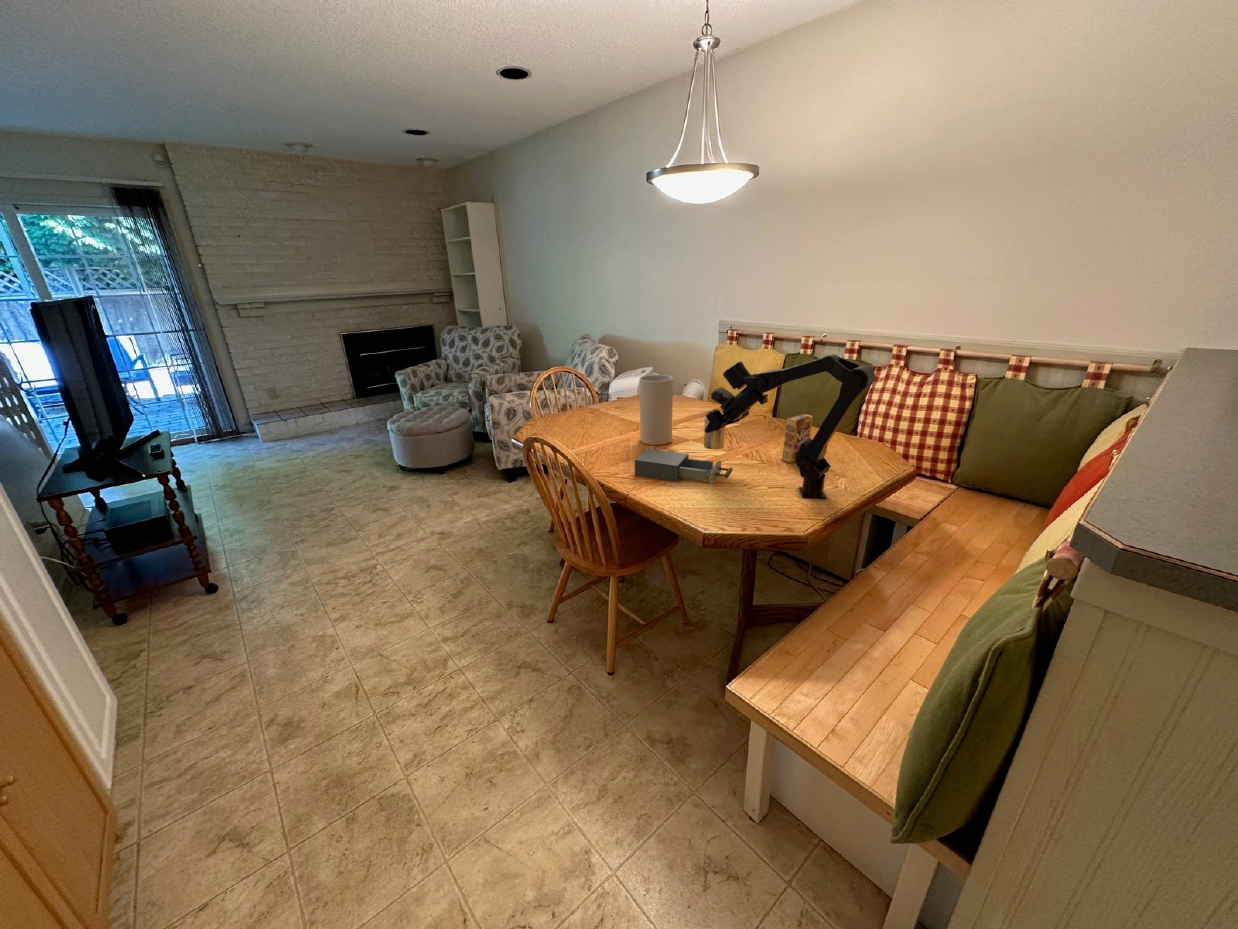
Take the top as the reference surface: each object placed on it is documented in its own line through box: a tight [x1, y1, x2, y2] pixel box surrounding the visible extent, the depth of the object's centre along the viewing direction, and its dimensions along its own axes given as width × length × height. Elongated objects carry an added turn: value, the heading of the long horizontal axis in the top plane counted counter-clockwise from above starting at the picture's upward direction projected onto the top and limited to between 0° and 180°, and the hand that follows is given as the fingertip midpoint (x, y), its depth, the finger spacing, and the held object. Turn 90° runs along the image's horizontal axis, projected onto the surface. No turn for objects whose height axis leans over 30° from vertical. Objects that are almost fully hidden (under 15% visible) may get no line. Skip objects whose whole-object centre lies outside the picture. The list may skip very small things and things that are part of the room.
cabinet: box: [634, 448, 690, 483], centre depth 158 cm, size 15×12×6 cm
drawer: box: [678, 457, 733, 485], centre depth 152 cm, size 18×10×4 cm, turn 65°
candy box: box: [781, 413, 814, 464], centre depth 164 cm, size 9×4×15 cm, turn 123°
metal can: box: [703, 415, 726, 450], centre depth 156 cm, size 7×7×10 cm
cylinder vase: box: [639, 374, 674, 446], centre depth 185 cm, size 12×12×25 cm
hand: (711, 429), depth 157 cm, fingers closed on metal can, 6 cm apart
